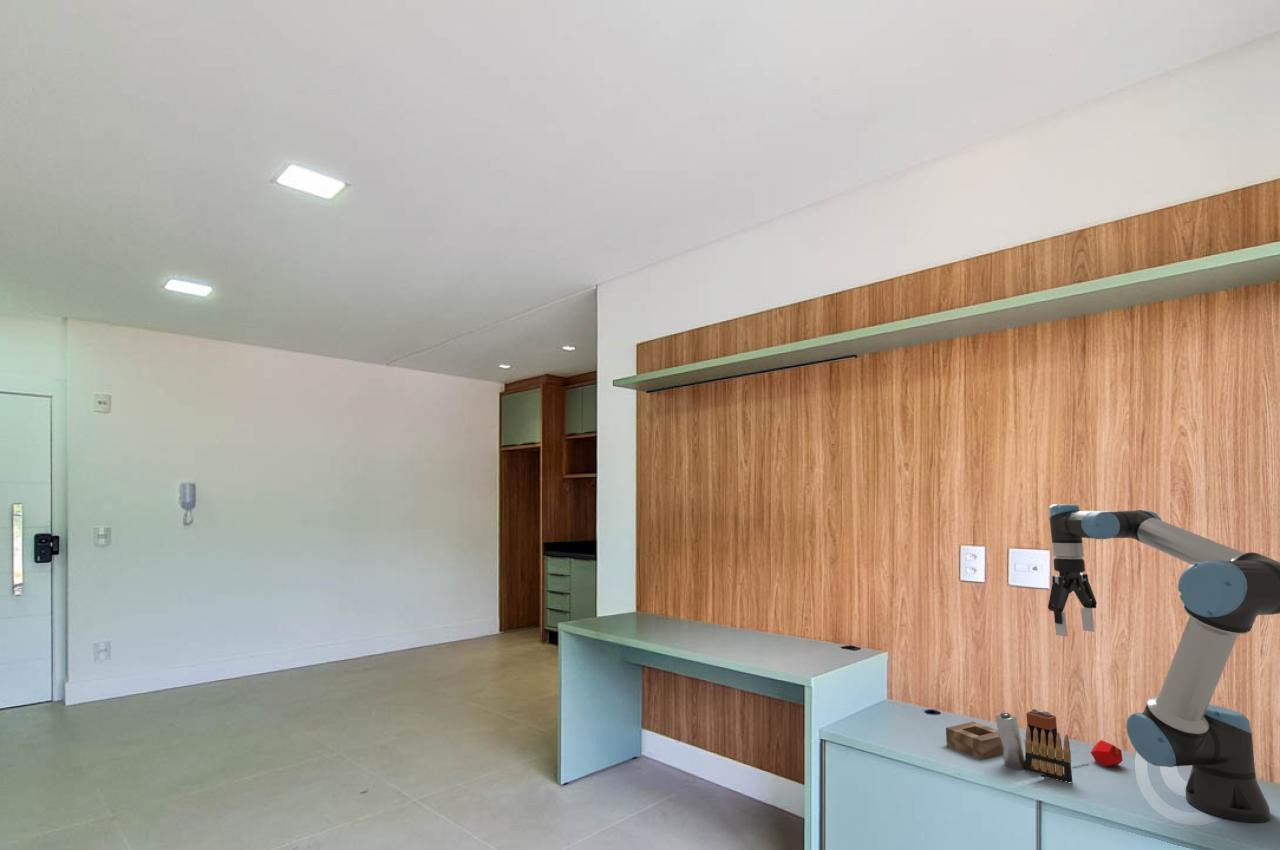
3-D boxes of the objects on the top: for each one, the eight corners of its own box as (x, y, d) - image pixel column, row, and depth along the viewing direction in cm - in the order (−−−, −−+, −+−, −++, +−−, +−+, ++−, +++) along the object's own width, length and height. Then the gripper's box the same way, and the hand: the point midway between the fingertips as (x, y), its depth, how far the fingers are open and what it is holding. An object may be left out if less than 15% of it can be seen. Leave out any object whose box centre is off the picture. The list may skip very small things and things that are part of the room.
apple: (1081, 739, 188) (1104, 737, 181) (1102, 742, 189) (1125, 740, 182) (1087, 766, 184) (1110, 765, 177) (1108, 769, 185) (1132, 768, 178)
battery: (1051, 750, 193) (1048, 715, 194) (1027, 743, 199) (1025, 709, 200) (1059, 747, 196) (1056, 712, 197) (1035, 740, 201) (1032, 706, 202)
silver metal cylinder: (1030, 766, 179) (1019, 713, 181) (1018, 771, 177) (1007, 717, 179) (1013, 762, 183) (1002, 710, 186) (1000, 766, 181) (990, 714, 184)
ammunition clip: (1024, 771, 177) (1023, 726, 178) (1025, 769, 179) (1024, 724, 180) (1071, 783, 171) (1070, 736, 172) (1072, 780, 172) (1071, 734, 173)
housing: (1011, 755, 190) (1009, 734, 190) (983, 763, 185) (981, 740, 185) (974, 742, 200) (973, 721, 201) (946, 748, 195) (945, 727, 196)
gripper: (1078, 555, 199) (1085, 627, 196) (1029, 558, 187) (1036, 635, 184) (1106, 556, 192) (1113, 631, 190) (1056, 560, 181) (1063, 639, 178)
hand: (1075, 633), depth 187 cm, fingers open, 13 cm apart
